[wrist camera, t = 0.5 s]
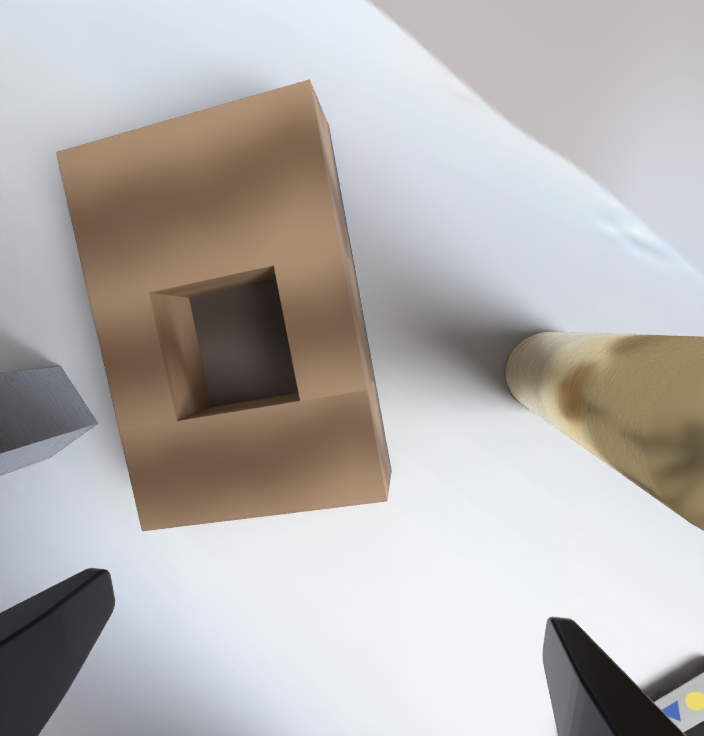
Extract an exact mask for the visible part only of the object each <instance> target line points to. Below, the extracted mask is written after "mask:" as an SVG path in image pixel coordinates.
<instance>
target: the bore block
mask: <svg viewBox="0 0 704 736" xmlns="http://www.w3.org/2000/svg"><path fill="white" fill-rule="evenodd" d="M56 154H57V159H58V163H59V168H60V172H61V176H62V181H63V185H64V190H65V194H66V198H67V203H68V207H69V212H70V216H71V220H72V225H73V229H74V234H75V238H76V242H77V247H78V251H79V256H80V260H81V265H82V269H83V273H84V278H85V282H86V287H87V291H88V295H89V300H90V304H91V309H92V313H93V317H94V322H95V326H96V331H97V335H98V339H99V344H100V348H101V353H102V357H103V361H104V366H105V370H106V375H107V379H108V384H109V388H110V392H111V397H112V401H113V406H114V410H115V414H116V419H117V423H118V428H119V432H120V436H121V441H122V445H123V450H124V454H125V458H126V463H127V467H128V472H129V476H130V480H131V485H132V489H133V494H134V498H135V503H136V507H137V511H138V516H139V520H140V525H141V529H142V531H148V530H156V529H165V528H173V527H181V526H189V525H197V524H205V523H214V522H222V521H230V520H238V519H246V518H255V517H263V516H271V515H279V514H287V513H295V512H304V511H312V510H320V509H328V508H336V507H345V506H353V505H361V504H369V503H377V502H385V501H387V499H388V492H389V485H390V478H391V465H390V460H389V454H388V449H387V443H386V438H385V432H384V427H383V421H382V416H381V410H380V405H379V399H378V394H377V388H376V383H375V377H374V372H373V366H372V361H371V355H370V350H369V344H368V339H367V333H366V328H365V322H364V317H363V311H362V306H361V300H360V295H359V289H358V284H357V278H356V273H355V267H354V262H353V256H352V251H351V245H350V240H349V234H348V229H347V223H346V218H345V212H344V207H343V201H342V196H341V190H340V185H339V179H338V174H337V168H336V163H335V157H334V152H333V146H332V141H331V135H330V130H329V125H328V122H327V120H326V118H325V115H324V113H323V110H322V108H321V106H320V103H319V101H318V98H317V96H316V94H315V91H314V89H313V86H312V84H311V81H310V80H306V81H303V82H299V83H296V84H292V85H289V86H285V87H282V88H278V89H275V90H271V91H268V92H264V93H261V94H257V95H254V96H250V97H247V98H243V99H240V100H237V101H233V102H230V103H226V104H223V105H219V106H216V107H212V108H209V109H205V110H202V111H198V112H195V113H191V114H188V115H184V116H181V117H177V118H174V119H170V120H167V121H163V122H160V123H156V124H153V125H149V126H146V127H143V128H139V129H136V130H132V131H129V132H125V133H122V134H118V135H115V136H111V137H108V138H104V139H101V140H97V141H94V142H90V143H87V144H83V145H80V146H76V147H73V148H69V149H66V150H62V151H59V152H56Z"/></svg>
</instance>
